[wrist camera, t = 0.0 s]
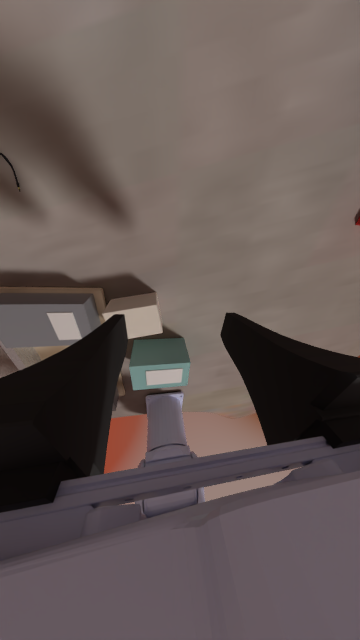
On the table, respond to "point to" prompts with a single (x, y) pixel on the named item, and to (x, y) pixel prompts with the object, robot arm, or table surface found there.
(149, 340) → the teal module
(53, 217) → the table surface
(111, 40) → the table surface
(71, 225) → the table surface
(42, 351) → the board
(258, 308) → the table surface
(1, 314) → the mounted modules
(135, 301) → the block
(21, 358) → the rail
